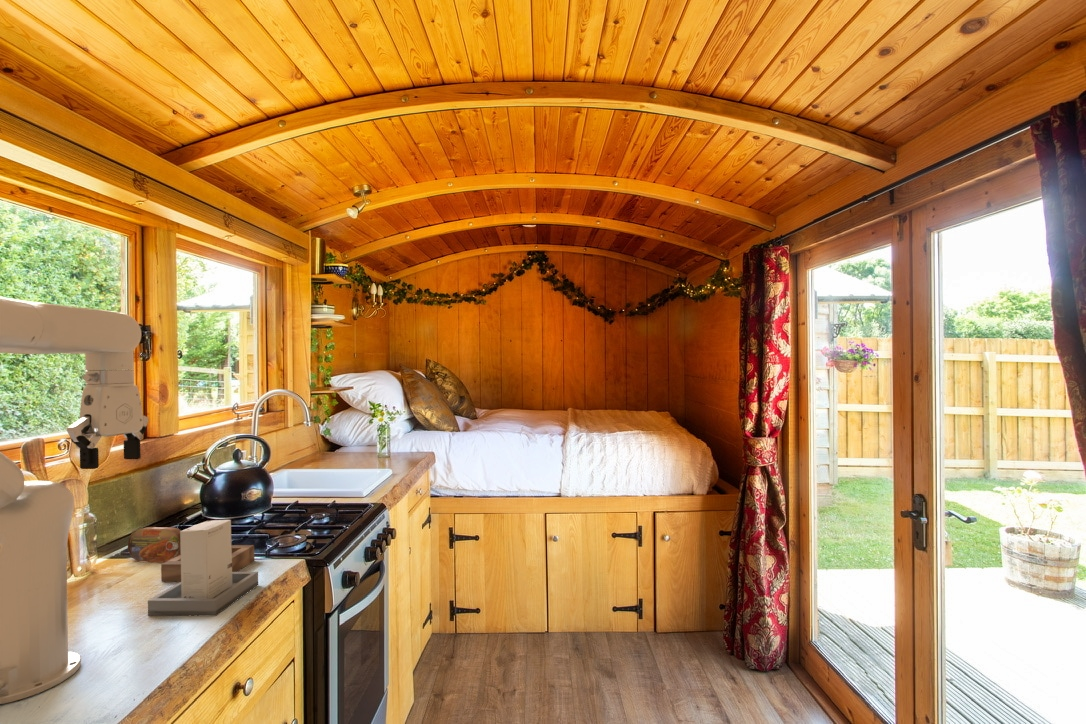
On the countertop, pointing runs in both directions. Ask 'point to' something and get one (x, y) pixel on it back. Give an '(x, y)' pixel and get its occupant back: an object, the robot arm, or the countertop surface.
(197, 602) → the gray tray
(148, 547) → the tin
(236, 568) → the walnut holder
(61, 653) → the robot arm
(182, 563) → the skincare box
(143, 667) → the countertop surface
